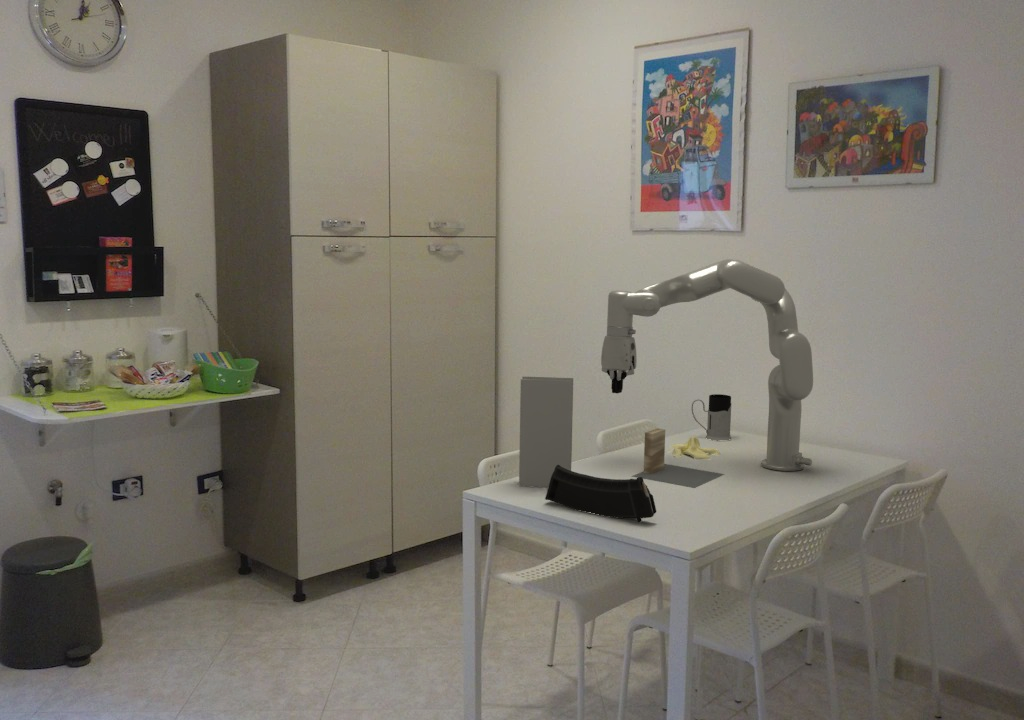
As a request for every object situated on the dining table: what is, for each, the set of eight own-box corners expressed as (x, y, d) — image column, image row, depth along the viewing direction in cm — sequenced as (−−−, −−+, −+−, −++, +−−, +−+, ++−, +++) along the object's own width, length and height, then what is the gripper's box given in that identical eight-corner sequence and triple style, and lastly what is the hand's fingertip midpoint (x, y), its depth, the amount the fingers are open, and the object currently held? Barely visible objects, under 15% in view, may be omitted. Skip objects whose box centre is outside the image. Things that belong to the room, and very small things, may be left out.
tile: (663, 468, 280) (665, 429, 278) (651, 474, 273) (652, 433, 272) (655, 467, 281) (657, 428, 280) (642, 472, 275) (644, 432, 273)
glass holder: (734, 441, 323) (736, 398, 321) (693, 441, 322) (695, 398, 320) (727, 435, 331) (729, 394, 329) (687, 435, 331) (689, 393, 329)
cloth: (676, 445, 317) (676, 427, 316) (729, 452, 307) (729, 434, 307) (648, 457, 299) (649, 438, 298) (704, 466, 289) (705, 446, 288)
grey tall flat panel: (570, 483, 264) (573, 377, 260) (570, 488, 258) (572, 380, 255) (520, 481, 265) (522, 376, 261) (519, 486, 260) (520, 379, 256)
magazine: (537, 468, 243) (636, 452, 225) (544, 466, 246) (643, 449, 228) (552, 533, 242) (653, 521, 225) (558, 530, 245) (659, 518, 227)
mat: (724, 475, 275) (724, 474, 275) (694, 489, 259) (694, 487, 259) (663, 465, 286) (663, 463, 286) (631, 477, 271) (631, 476, 270)
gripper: (647, 333, 278) (644, 394, 281) (604, 329, 287) (602, 388, 289) (635, 335, 272) (632, 397, 275) (591, 331, 281) (589, 391, 284)
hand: (616, 392), depth 282 cm, fingers closed
